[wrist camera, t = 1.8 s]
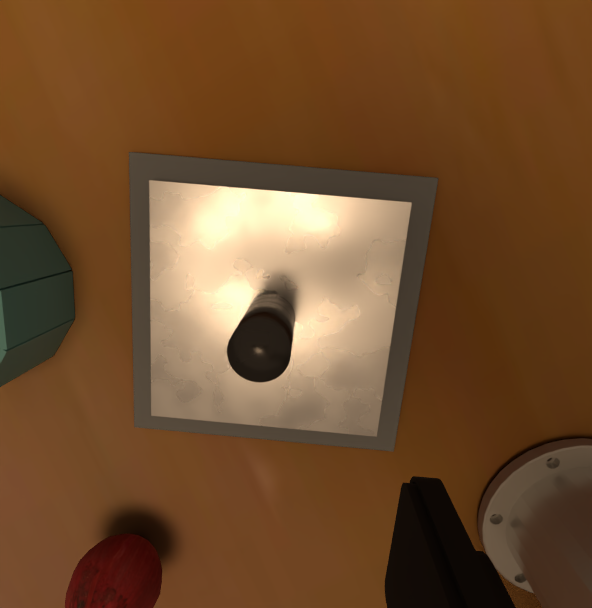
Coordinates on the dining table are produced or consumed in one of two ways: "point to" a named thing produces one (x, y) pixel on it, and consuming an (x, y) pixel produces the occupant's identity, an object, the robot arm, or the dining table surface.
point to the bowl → (30, 293)
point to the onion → (117, 575)
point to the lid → (272, 305)
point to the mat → (283, 180)
